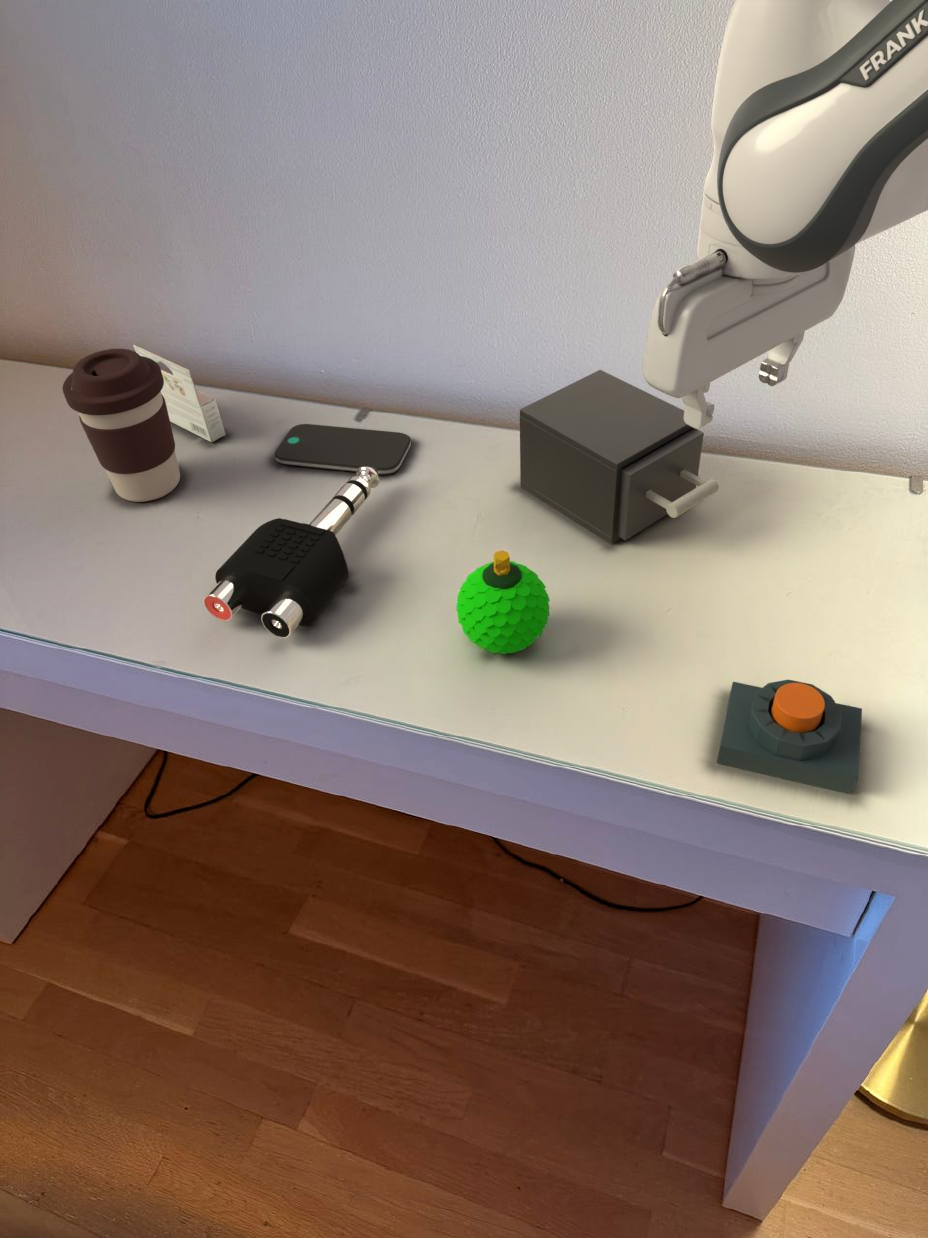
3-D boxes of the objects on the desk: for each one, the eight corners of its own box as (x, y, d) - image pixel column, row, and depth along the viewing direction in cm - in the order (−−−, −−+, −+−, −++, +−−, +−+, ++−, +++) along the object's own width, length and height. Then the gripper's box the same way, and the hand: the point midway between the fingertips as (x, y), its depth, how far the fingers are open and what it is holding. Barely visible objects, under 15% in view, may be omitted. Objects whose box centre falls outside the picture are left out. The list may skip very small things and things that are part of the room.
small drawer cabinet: (688, 497, 98) (699, 417, 91) (611, 544, 93) (617, 464, 86) (595, 445, 106) (600, 368, 99) (520, 486, 101) (519, 409, 94)
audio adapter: (190, 580, 84) (328, 437, 100) (204, 622, 88) (335, 478, 104) (293, 609, 80) (419, 456, 96) (303, 652, 84) (423, 498, 100)
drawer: (727, 515, 94) (738, 449, 88) (657, 560, 89) (665, 494, 84) (607, 448, 103) (611, 386, 98) (538, 486, 99) (539, 423, 94)
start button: (821, 703, 72) (826, 688, 71) (818, 738, 70) (823, 723, 68) (774, 693, 73) (777, 678, 72) (768, 727, 71) (772, 712, 69)
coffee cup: (200, 457, 108) (165, 337, 98) (184, 508, 101) (144, 384, 91) (116, 462, 108) (71, 343, 98) (94, 513, 101) (43, 391, 91)
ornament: (549, 610, 86) (551, 525, 79) (548, 674, 80) (549, 588, 74) (463, 609, 87) (457, 524, 80) (455, 672, 81) (448, 587, 74)
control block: (855, 726, 75) (867, 692, 72) (851, 794, 70) (863, 762, 67) (728, 699, 77) (736, 666, 75) (716, 763, 73) (723, 730, 70)
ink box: (170, 407, 117) (148, 335, 110) (226, 435, 111) (207, 361, 105) (154, 415, 116) (130, 343, 109) (210, 444, 110) (189, 370, 103)
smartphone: (294, 421, 111) (414, 432, 108) (295, 428, 111) (414, 439, 108) (269, 457, 106) (395, 470, 102) (270, 463, 106) (395, 476, 103)
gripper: (699, 290, 61) (679, 467, 70) (881, 203, 69) (842, 371, 79) (629, 263, 65) (619, 435, 74) (810, 184, 73) (780, 347, 83)
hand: (735, 401), depth 77 cm, fingers open, 8 cm apart
